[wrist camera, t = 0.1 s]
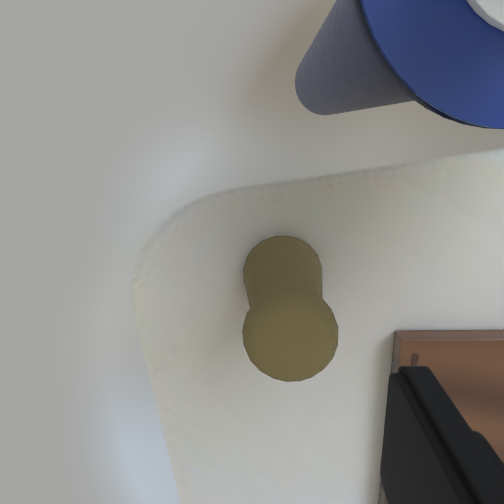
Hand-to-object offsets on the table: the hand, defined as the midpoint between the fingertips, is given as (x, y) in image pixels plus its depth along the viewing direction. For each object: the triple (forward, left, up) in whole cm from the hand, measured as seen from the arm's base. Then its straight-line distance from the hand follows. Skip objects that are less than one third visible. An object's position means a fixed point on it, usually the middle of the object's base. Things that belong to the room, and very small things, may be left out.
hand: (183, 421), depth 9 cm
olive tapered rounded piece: (+5, +3, -22) cm, 22 cm away
